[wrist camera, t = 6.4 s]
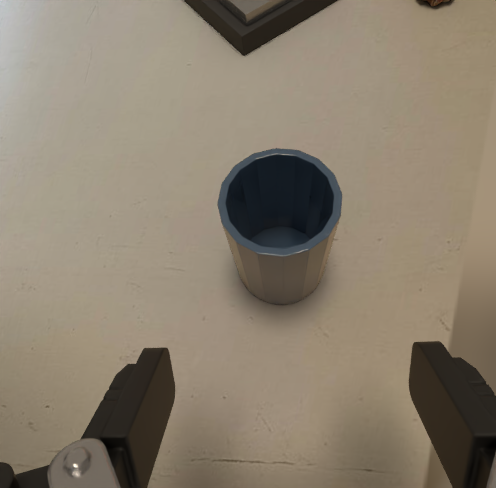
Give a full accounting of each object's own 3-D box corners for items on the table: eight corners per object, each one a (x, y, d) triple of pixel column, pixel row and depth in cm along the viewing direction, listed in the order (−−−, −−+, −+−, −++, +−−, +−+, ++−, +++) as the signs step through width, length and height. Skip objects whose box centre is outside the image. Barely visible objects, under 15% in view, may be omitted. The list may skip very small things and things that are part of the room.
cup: (272, 322, 25) (266, 280, 17) (222, 256, 27) (195, 190, 19) (341, 270, 26) (368, 206, 18) (287, 210, 28) (289, 129, 20)
